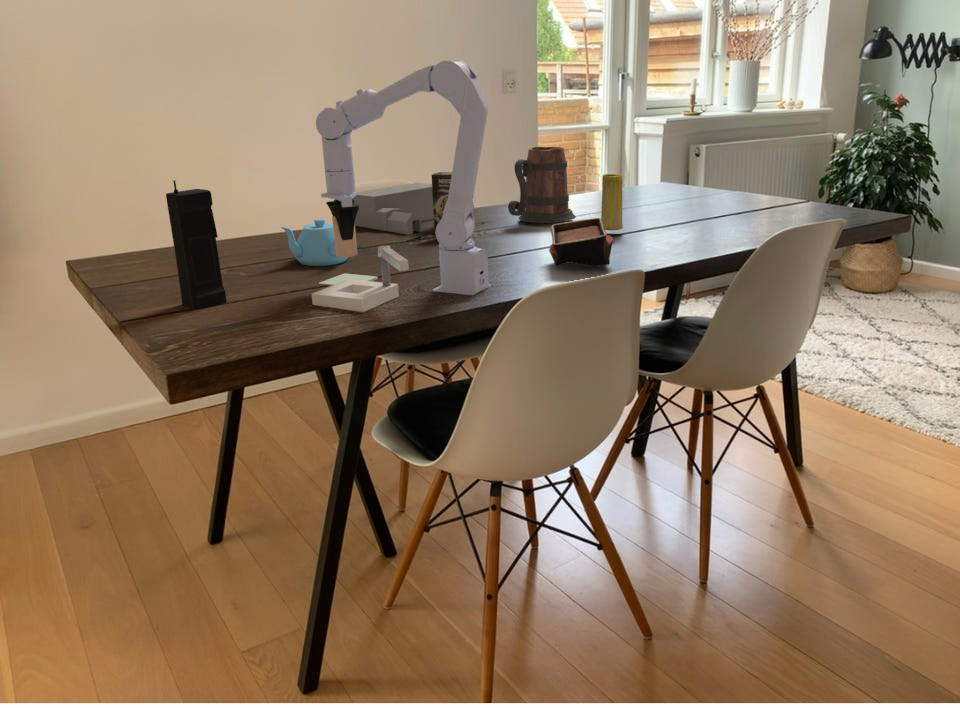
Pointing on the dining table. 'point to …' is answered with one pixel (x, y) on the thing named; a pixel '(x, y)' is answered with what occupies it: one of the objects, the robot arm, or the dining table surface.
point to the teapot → (315, 245)
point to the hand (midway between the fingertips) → (345, 237)
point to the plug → (343, 242)
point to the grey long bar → (393, 258)
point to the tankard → (542, 187)
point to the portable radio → (196, 248)
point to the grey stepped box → (395, 208)
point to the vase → (612, 201)
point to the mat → (345, 277)
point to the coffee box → (440, 194)
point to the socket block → (358, 293)
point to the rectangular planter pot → (581, 243)
